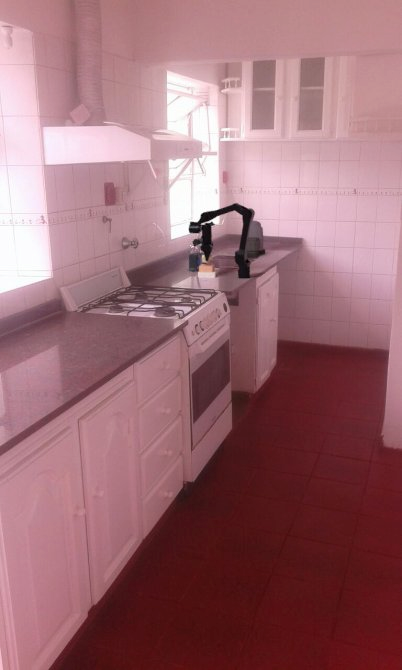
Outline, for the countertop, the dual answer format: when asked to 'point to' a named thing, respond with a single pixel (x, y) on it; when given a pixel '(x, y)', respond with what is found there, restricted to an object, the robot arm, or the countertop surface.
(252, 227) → the juicer
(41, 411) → the countertop surface
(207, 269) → the tower top
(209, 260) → the maple puck
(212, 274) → the tower base
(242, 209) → the robot arm
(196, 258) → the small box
